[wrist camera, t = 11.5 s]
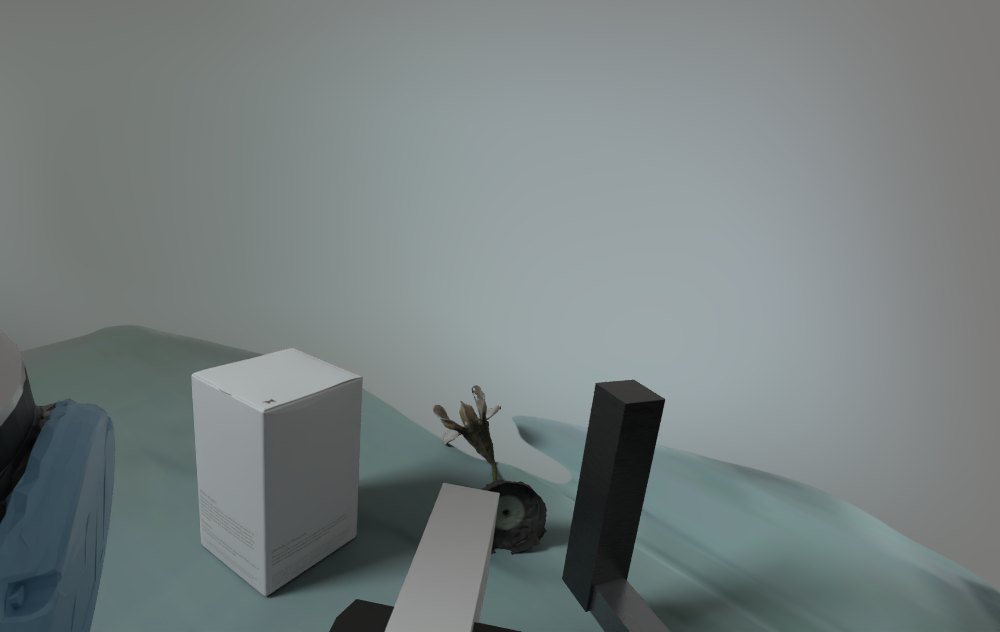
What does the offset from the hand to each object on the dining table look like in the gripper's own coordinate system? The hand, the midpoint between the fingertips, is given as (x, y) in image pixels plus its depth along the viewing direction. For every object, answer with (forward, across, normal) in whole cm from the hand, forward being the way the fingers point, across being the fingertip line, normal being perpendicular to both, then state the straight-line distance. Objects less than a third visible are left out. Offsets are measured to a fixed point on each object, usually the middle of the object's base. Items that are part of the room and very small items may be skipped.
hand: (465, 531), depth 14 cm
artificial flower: (+36, -3, -24) cm, 43 cm away
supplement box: (+23, -18, -23) cm, 37 cm away
